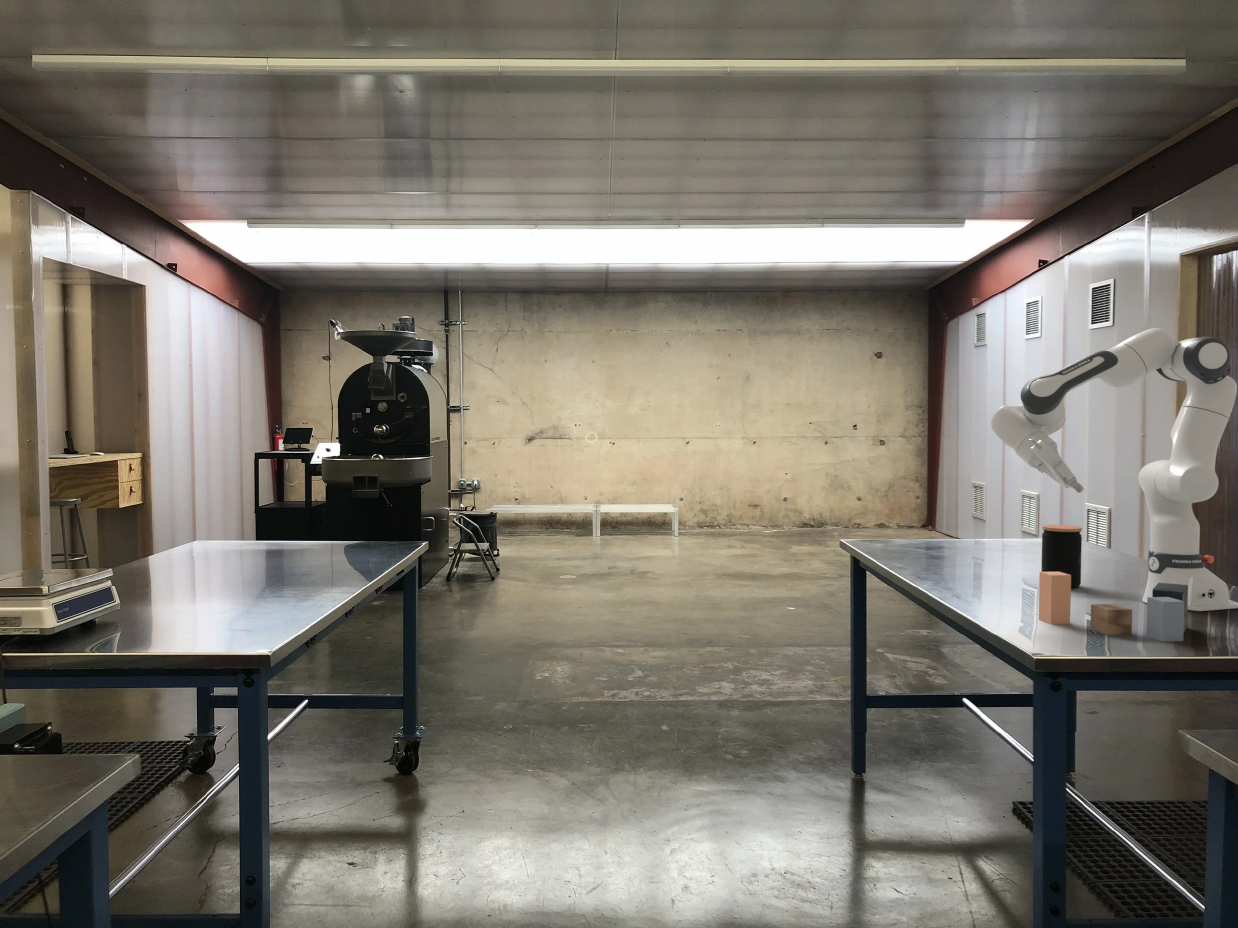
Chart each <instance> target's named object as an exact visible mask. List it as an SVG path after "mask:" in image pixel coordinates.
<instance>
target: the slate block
mask: <svg viewBox="0 0 1238 928" xmlns="http://www.w3.org/2000/svg"><path fill="white" fill-rule="evenodd" d="M1146 604H1147V606H1146V607H1147V608H1146V637H1148V638H1151V639H1154V640H1158V641H1159V642H1163V643H1164V642H1165V643H1166V642H1184V635H1185V633H1184V601H1181V600H1177V599H1174V598H1170V597H1147V603H1146ZM1183 634H1184V635H1183Z"/></svg>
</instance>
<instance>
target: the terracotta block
mask: <svg viewBox="0 0 1238 928" xmlns="http://www.w3.org/2000/svg"><path fill="white" fill-rule="evenodd" d="M1038 585H1039V591H1038V594H1039V595H1038V620H1039V621H1042V622H1044V623H1047V624H1050V625H1061V624H1062V625H1065V624H1066V625H1068V624H1069V625H1070V624H1071V604H1072V603H1071V600H1072V599H1071V594H1072V589H1071V575H1069V574H1065V573H1062V572H1041V571H1039V584H1038Z"/></svg>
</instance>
